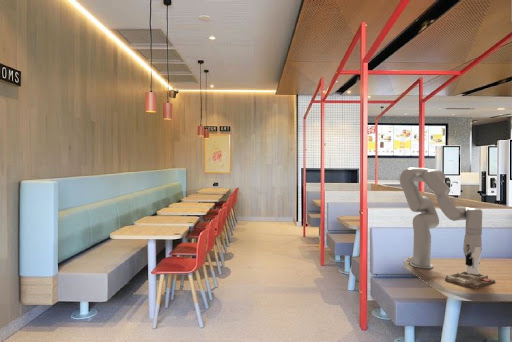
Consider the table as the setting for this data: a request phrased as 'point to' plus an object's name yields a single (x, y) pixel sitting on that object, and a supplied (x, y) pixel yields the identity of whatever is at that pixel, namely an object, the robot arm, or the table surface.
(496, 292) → the table surface
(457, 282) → the divided sorting tray
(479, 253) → the silver piece
